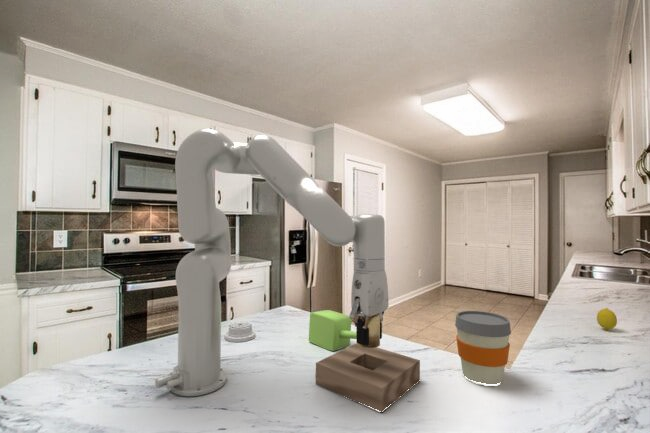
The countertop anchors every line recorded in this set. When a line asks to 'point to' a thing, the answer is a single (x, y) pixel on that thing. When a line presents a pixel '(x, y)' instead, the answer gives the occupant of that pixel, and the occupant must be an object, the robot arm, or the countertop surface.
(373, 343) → the bushing
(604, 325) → the lemon
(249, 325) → the mechanical component
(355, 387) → the block
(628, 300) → the countertop surface
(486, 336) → the reusable coffee cup
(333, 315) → the gearbox
